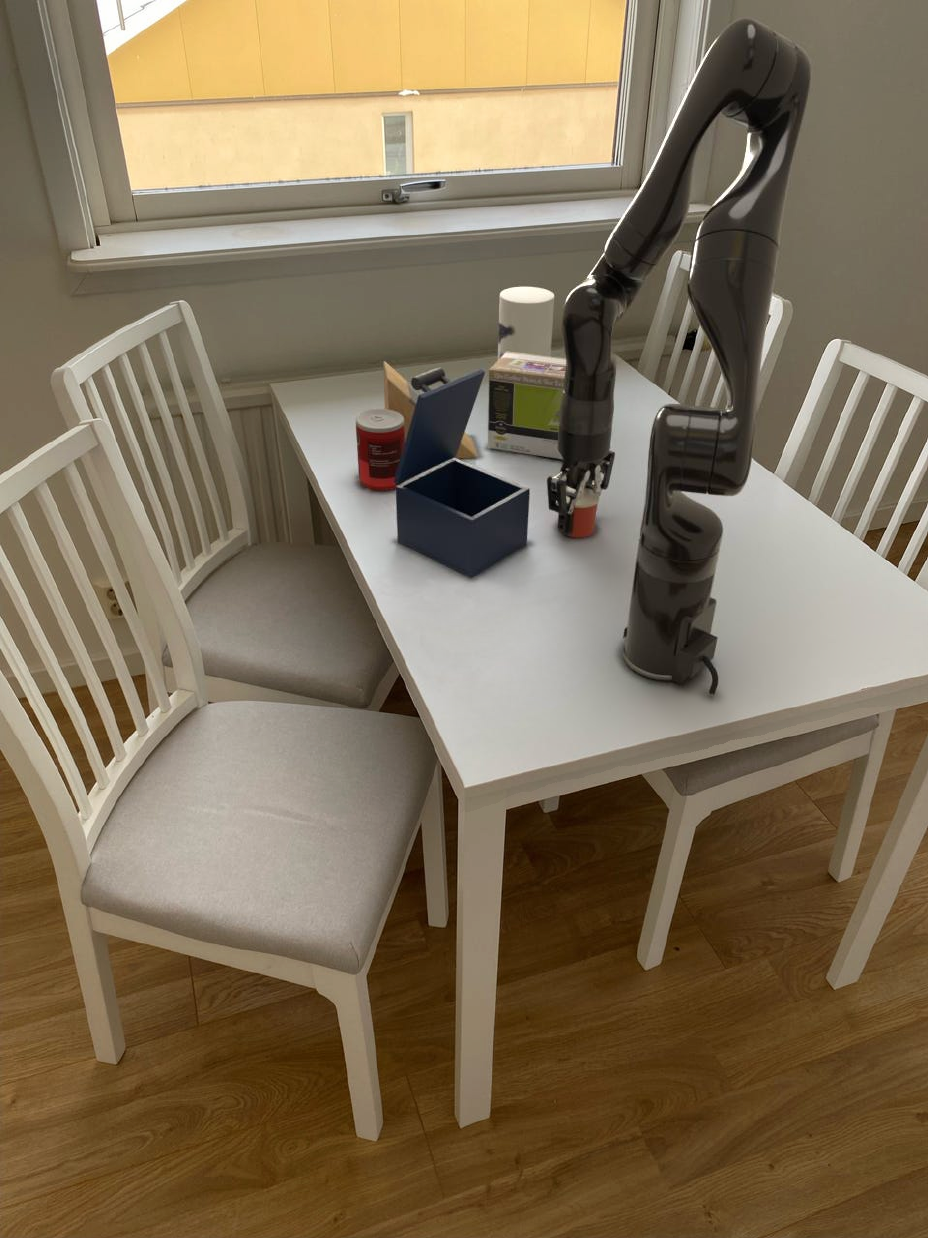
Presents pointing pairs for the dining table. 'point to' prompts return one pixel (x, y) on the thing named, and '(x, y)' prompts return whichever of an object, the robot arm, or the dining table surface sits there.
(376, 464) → the canned food
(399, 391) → the sandwich container
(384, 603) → the dining table surface
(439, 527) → the navy blue open box
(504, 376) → the tea box
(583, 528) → the plastic tub
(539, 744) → the dining table surface
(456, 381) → the cool box lid
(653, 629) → the robot arm
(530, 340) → the container
